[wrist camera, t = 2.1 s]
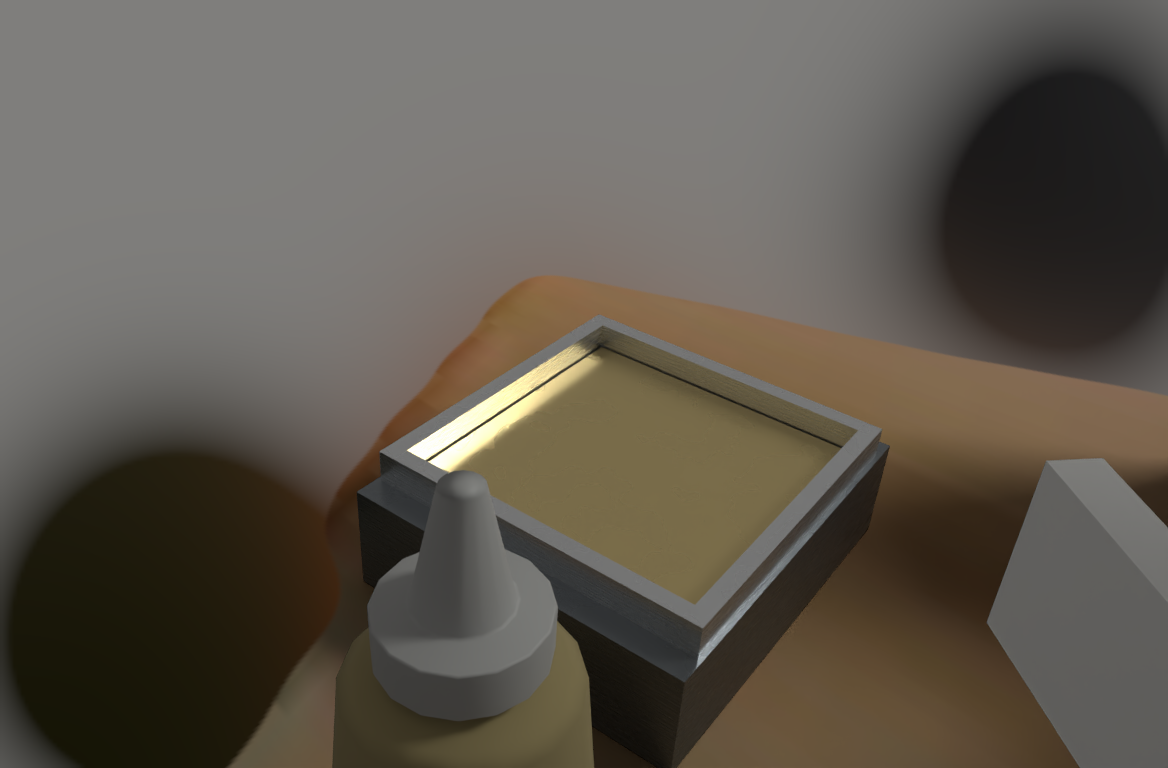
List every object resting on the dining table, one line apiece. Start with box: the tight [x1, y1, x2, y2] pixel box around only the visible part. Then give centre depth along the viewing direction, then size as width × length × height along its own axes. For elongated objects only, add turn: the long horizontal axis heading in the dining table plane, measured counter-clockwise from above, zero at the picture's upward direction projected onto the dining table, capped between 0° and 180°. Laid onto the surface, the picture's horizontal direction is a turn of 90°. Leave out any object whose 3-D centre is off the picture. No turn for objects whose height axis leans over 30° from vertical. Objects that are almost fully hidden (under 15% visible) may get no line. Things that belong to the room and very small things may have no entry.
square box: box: [357, 315, 890, 768], centre depth 47 cm, size 18×16×6 cm
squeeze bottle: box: [332, 470, 594, 768], centre depth 29 cm, size 8×8×18 cm
